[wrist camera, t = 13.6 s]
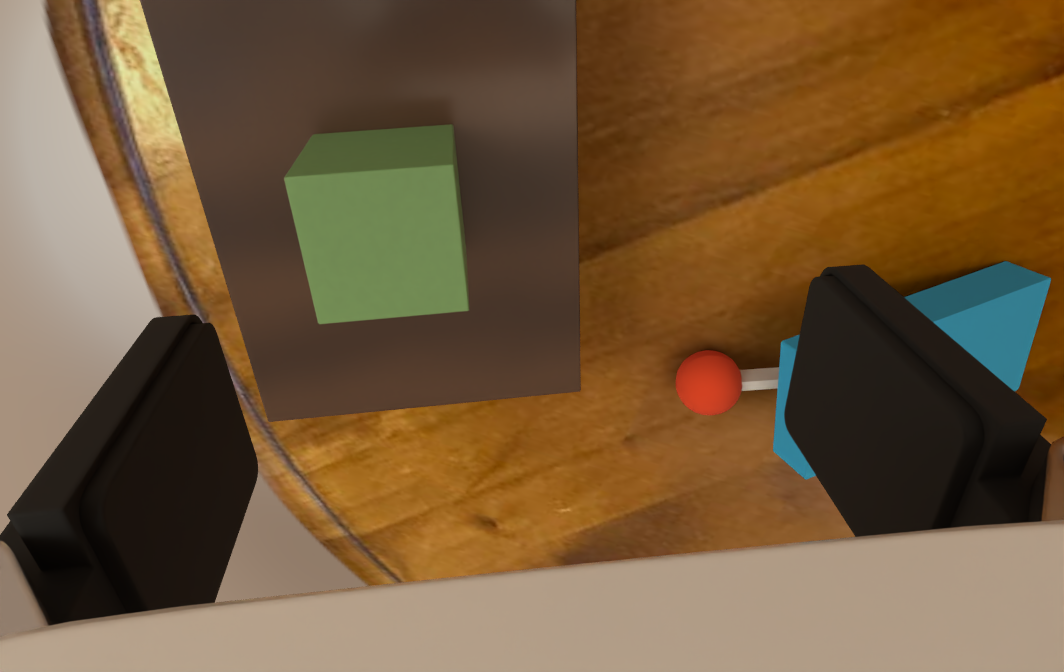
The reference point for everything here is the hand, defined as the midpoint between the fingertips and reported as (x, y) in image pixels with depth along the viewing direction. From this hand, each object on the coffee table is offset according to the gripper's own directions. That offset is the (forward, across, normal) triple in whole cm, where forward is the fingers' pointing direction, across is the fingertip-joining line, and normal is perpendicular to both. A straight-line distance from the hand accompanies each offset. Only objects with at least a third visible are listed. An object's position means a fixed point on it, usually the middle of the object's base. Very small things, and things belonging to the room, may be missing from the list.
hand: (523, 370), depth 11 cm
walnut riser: (+21, +4, +3) cm, 22 cm away
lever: (+21, -18, +14) cm, 32 cm away
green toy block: (+16, +4, +3) cm, 17 cm away
